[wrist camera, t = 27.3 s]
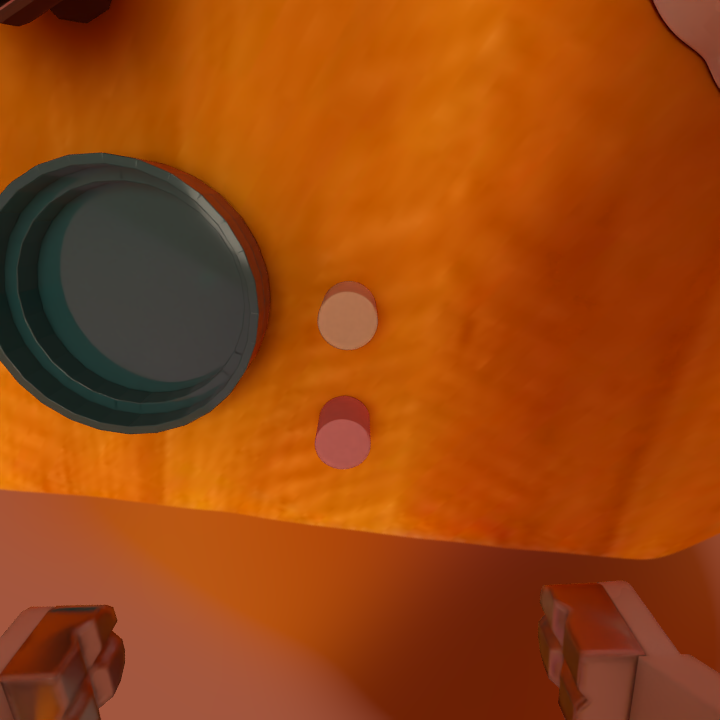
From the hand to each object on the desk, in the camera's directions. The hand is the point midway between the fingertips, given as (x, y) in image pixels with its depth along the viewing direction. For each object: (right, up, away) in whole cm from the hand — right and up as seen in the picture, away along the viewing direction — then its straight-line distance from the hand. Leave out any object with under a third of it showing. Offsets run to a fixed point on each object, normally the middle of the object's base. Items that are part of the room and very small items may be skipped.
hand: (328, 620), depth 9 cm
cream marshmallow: (0, +9, +28) cm, 29 cm away
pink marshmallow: (-1, 0, +30) cm, 30 cm away
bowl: (-15, +10, +27) cm, 33 cm away
